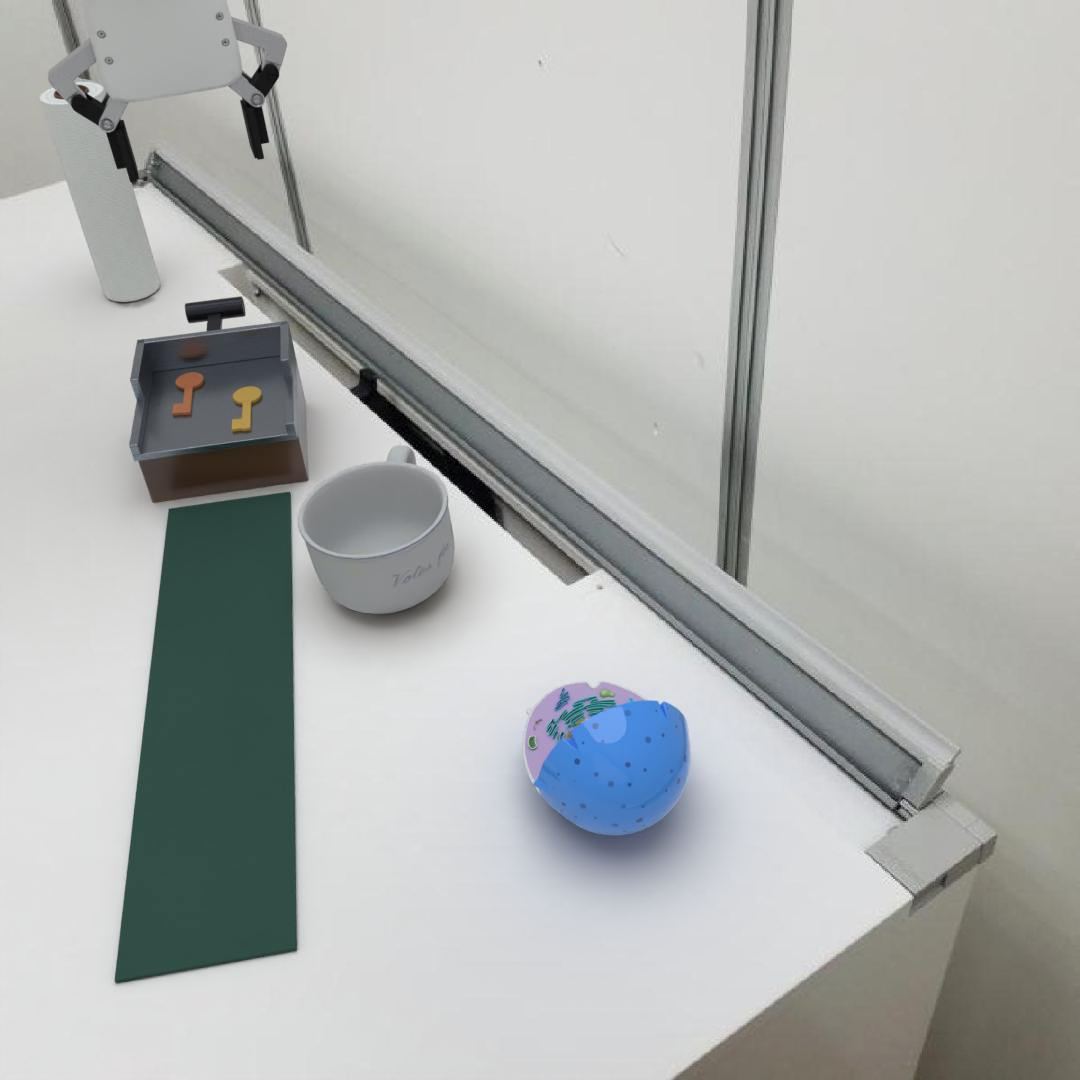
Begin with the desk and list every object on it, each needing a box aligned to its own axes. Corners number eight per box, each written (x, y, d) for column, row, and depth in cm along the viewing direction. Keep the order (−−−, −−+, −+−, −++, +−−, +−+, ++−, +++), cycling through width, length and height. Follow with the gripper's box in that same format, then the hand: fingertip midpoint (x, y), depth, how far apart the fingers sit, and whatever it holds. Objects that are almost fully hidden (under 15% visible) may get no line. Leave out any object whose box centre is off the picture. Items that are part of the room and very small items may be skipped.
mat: (169, 511, 95) (168, 508, 95) (290, 494, 96) (290, 491, 96) (115, 983, 64) (114, 980, 64) (297, 950, 65) (295, 947, 64)
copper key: (177, 377, 100) (176, 374, 100) (204, 373, 100) (204, 370, 100) (172, 417, 95) (171, 414, 95) (201, 413, 96) (200, 410, 95)
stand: (163, 421, 105) (148, 375, 102) (305, 402, 106) (295, 356, 103) (152, 502, 96) (135, 454, 93) (308, 480, 97) (297, 432, 94)
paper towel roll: (139, 307, 121) (76, 104, 107) (92, 299, 123) (24, 99, 109) (178, 275, 126) (123, 77, 112) (133, 268, 128) (73, 72, 114)
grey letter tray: (152, 346, 105) (139, 305, 103) (295, 328, 107) (286, 287, 104) (134, 461, 92) (119, 418, 89) (297, 439, 93) (287, 395, 90)
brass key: (233, 391, 98) (233, 388, 98) (262, 387, 98) (261, 384, 98) (231, 432, 93) (230, 429, 93) (261, 428, 94) (260, 425, 93)
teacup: (422, 649, 82) (409, 566, 77) (289, 617, 85) (267, 535, 80) (495, 528, 91) (487, 447, 86) (373, 502, 95) (359, 423, 89)
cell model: (633, 699, 77) (634, 597, 71) (719, 838, 69) (729, 736, 63) (494, 746, 75) (483, 645, 69) (566, 897, 66) (560, 797, 60)
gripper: (252, -104, 83) (297, 128, 95) (4, -72, 80) (81, 166, 91) (268, -82, 78) (313, 162, 89) (2, -46, 74) (84, 204, 86)
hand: (196, 164), depth 90 cm, fingers open, 9 cm apart
